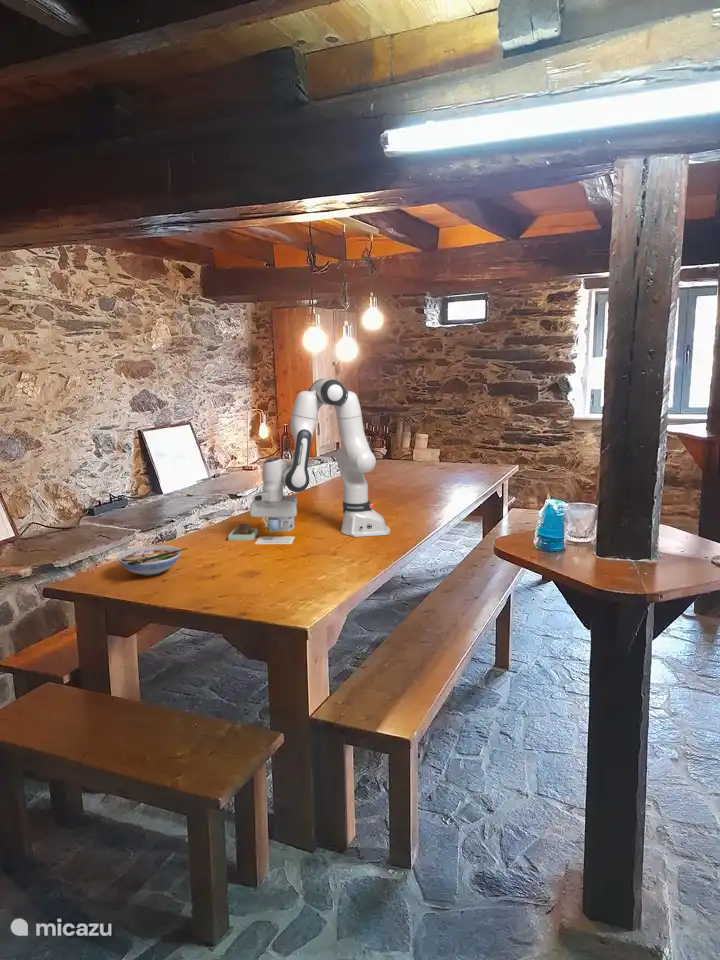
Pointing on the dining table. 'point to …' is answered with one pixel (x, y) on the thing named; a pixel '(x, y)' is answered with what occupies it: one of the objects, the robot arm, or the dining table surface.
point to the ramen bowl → (149, 559)
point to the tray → (235, 537)
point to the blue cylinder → (273, 524)
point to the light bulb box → (285, 523)
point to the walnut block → (243, 529)
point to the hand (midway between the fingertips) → (274, 526)
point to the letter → (275, 540)
